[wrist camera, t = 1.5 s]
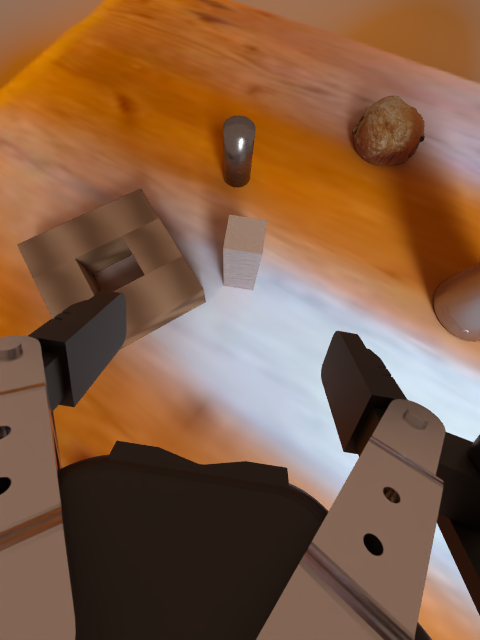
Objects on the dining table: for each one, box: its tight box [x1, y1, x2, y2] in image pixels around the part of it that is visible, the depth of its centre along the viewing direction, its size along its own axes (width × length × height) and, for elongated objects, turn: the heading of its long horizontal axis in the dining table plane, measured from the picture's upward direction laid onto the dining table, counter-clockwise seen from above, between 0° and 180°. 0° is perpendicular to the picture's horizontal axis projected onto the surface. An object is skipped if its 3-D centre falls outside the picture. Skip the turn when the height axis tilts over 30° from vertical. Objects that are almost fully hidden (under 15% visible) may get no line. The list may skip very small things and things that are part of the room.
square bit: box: [223, 215, 267, 290], centre depth 34 cm, size 4×4×10 cm
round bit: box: [223, 116, 255, 187], centre depth 40 cm, size 4×4×8 cm
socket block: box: [17, 189, 206, 350], centre depth 36 cm, size 16×16×4 cm
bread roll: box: [353, 96, 425, 166], centre depth 45 cm, size 10×10×8 cm
